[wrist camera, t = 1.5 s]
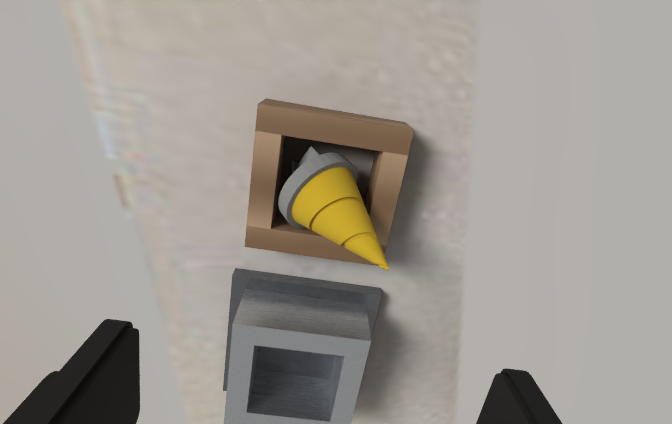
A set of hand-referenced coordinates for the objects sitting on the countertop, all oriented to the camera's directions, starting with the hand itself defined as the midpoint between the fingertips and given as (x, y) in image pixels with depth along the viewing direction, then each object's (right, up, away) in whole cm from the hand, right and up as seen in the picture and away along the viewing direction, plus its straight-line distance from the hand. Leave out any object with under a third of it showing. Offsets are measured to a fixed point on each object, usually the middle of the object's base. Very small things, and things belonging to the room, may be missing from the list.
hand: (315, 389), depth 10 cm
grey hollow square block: (-2, -5, +21) cm, 22 cm away
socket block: (0, +7, +16) cm, 18 cm away
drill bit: (0, +7, +17) cm, 18 cm away
